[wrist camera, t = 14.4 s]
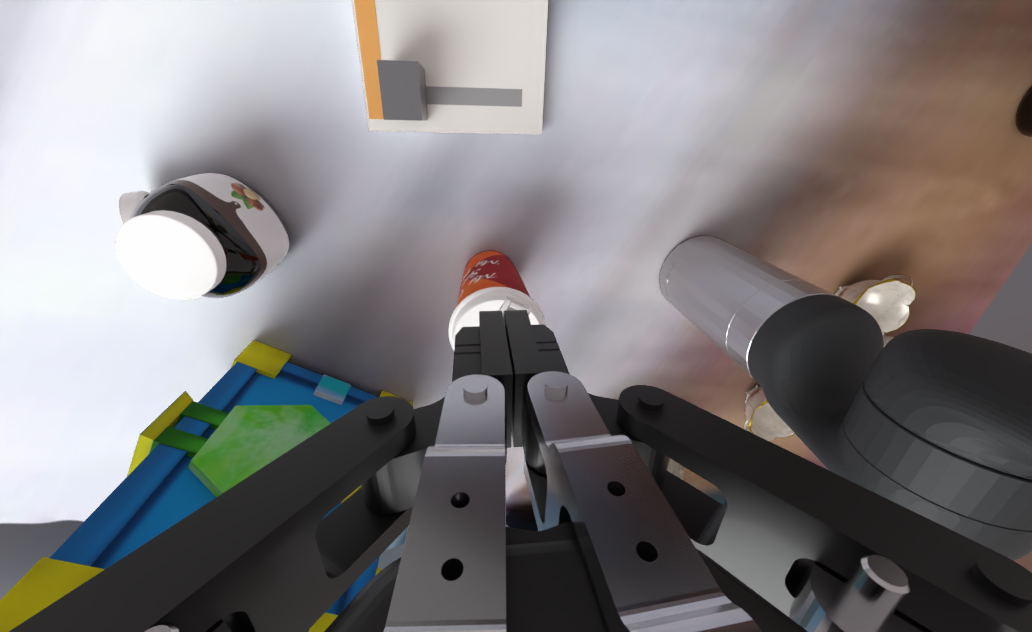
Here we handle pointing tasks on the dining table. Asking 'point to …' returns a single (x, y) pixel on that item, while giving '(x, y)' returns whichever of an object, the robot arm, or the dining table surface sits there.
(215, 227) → the spread jar
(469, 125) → the panel
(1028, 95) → the supplement bottle
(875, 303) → the chinaware
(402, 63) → the block
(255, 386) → the blue yellow rectangular box
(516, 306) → the coffee cup
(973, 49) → the dining table surface
